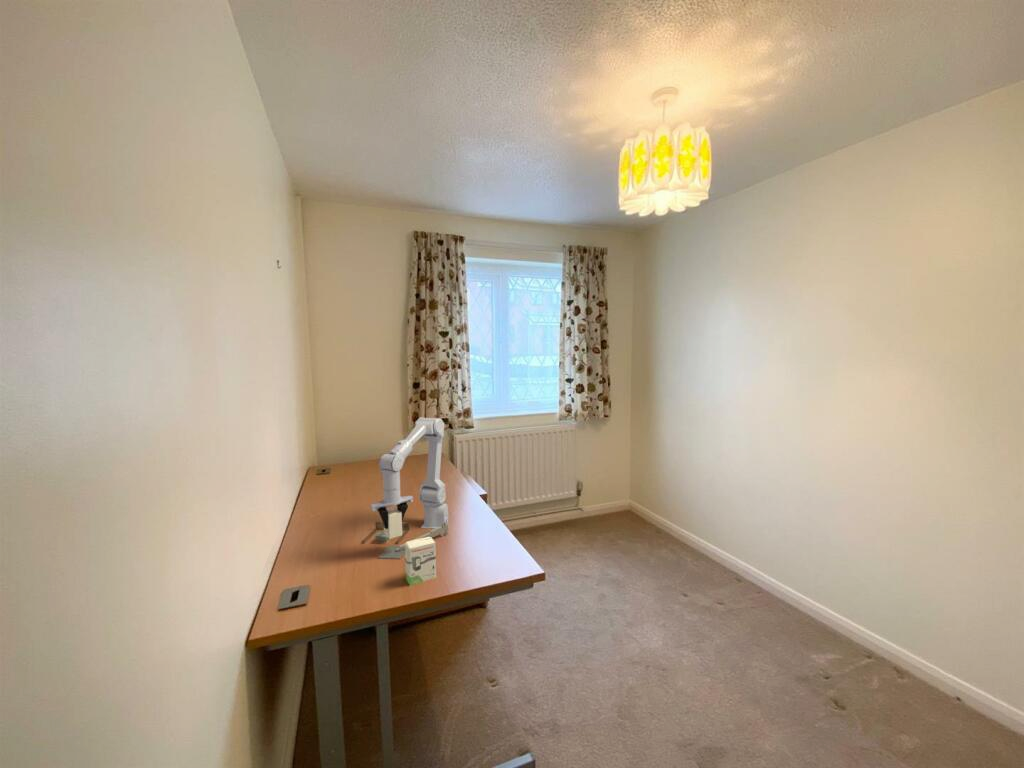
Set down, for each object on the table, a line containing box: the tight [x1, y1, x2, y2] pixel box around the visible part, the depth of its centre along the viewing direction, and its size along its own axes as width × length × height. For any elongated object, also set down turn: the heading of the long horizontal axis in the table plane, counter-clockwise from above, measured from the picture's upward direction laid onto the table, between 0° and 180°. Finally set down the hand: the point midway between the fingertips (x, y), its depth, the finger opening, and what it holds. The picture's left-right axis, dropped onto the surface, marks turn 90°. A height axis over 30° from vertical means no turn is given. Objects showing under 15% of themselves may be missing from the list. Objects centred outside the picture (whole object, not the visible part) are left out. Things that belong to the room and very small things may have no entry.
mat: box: [377, 545, 405, 560], centre depth 142 cm, size 8×9×1 cm
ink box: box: [404, 537, 437, 586], centre depth 126 cm, size 9×5×12 cm, turn 119°
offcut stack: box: [374, 531, 392, 545], centre depth 151 cm, size 5×4×4 cm
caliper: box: [396, 522, 449, 551], centre depth 148 cm, size 20×1×6 cm, turn 129°
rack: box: [361, 521, 411, 545], centre depth 155 cm, size 14×12×4 cm
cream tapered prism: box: [383, 507, 403, 539], centre depth 142 cm, size 4×6×8 cm
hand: (393, 526), depth 142 cm, fingers closed on cream tapered prism, 4 cm apart
